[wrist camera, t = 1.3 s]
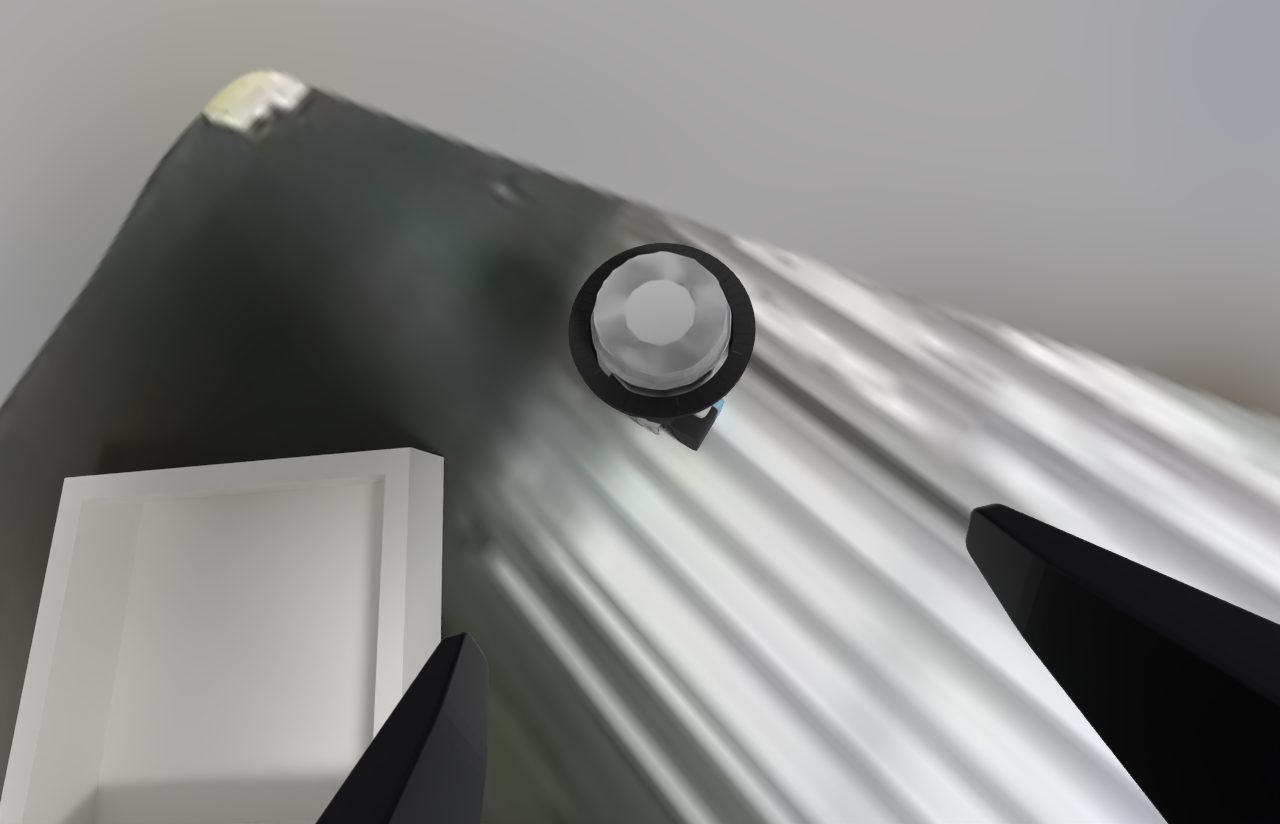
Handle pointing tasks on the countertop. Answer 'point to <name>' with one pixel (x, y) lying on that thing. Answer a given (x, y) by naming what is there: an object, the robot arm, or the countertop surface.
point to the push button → (663, 336)
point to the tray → (225, 638)
